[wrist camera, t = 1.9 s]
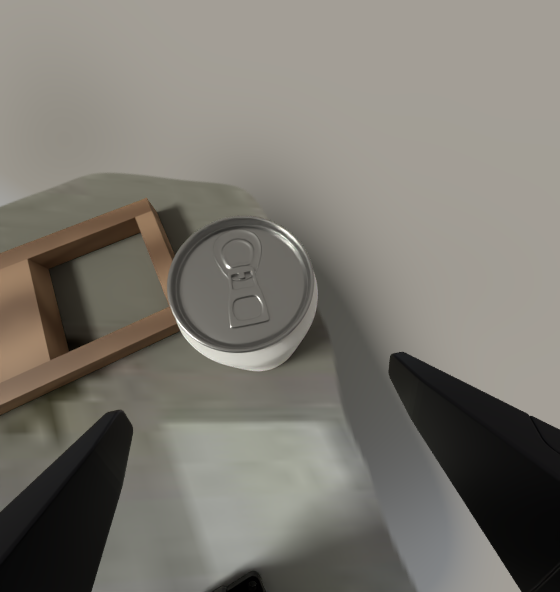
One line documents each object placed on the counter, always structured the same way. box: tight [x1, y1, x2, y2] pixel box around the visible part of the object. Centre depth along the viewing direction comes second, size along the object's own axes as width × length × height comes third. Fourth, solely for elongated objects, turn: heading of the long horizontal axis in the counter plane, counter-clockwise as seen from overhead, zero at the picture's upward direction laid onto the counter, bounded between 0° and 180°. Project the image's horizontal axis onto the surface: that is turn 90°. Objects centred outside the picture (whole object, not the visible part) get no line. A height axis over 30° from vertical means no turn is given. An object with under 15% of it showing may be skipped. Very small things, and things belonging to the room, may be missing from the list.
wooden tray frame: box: [0, 198, 180, 415], centre depth 21 cm, size 12×18×2 cm, turn 117°
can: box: [167, 216, 318, 371], centre depth 15 cm, size 6×6×12 cm
